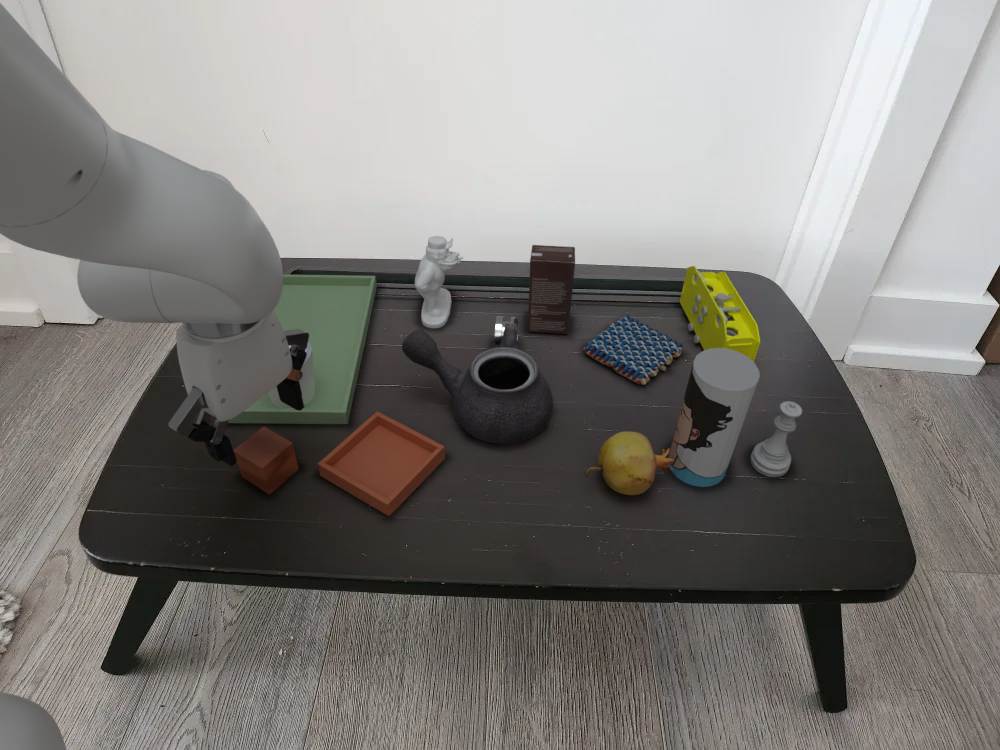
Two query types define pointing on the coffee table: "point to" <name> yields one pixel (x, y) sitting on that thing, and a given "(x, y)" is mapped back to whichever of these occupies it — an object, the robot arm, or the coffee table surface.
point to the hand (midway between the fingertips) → (259, 430)
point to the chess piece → (776, 444)
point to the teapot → (491, 388)
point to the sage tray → (323, 344)
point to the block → (266, 460)
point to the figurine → (435, 281)
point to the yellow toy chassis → (718, 313)
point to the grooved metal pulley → (502, 329)
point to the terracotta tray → (382, 462)
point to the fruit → (629, 463)
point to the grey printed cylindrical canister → (712, 415)
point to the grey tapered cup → (305, 383)
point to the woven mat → (633, 349)
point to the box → (550, 288)
